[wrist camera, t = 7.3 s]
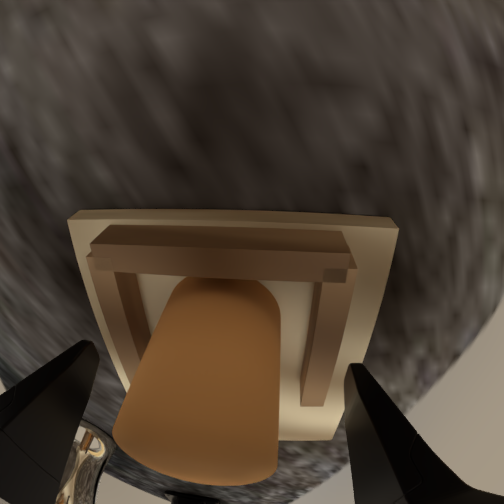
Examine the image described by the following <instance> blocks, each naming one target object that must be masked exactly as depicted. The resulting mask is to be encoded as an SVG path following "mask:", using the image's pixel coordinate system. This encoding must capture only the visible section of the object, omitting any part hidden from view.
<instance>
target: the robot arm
mask: <svg viewBox="0 0 504 504" xmlns="http://www.w3.org/2000/svg"><path fill="white" fill-rule="evenodd" d="M99 361H100V358H99V354H98V352H97V350H96V348H95V345H94V343H93V342H92V341H89V340H81V341H79V342H78V343H76V344H75V345H73V346H72V347H70V348H69V349H67V350H66V351H65V352H63V353H62V354H60V355H59V356H57V357H56V358H54V359H53V360H51V361H50V362H48V363H47V364H45V365H44V366H42V367H41V368H39V369H38V370H36V371H35V372H34V373H32V374H31V375H29V376H28V377H26V378H25V379H23V380H22V381H20V382H19V383H17V384H16V386H13V387H12V388H10V389H9V390H7V391H6V392H4V393H3V394H1V395H0V504H55V503H56V499H57V495H58V491H59V488H60V484H61V481H62V477H63V474H64V470H65V467H66V464H67V461H68V458H69V454H70V451H71V448H72V445H73V442H74V439H75V436H76V433H77V430H78V428H79V425H80V422H81V419H82V416H83V414H84V411H85V408H86V406H87V403H88V400H89V397H90V394H91V391H92V387H93V383H94V380H95V376H96V372H97V369H98V365H99ZM344 408H345V428H346V435H347V442H348V449H349V457H350V465H351V473H352V480H353V490H354V499H355V504H504V496H501V495H496V494H492V493H489V492H485V491H481V490H477V489H475V488H473V487H471V486H469V485H467V484H466V483H465V482H464V481H462V480H461V479H460V478H459V477H458V476H457V475H456V474H455V473H454V472H453V471H452V470H451V469H450V468H449V467H448V466H447V465H446V464H445V463H444V462H443V461H442V460H441V459H440V458H439V457H438V456H437V455H436V454H435V453H434V452H433V451H432V449H431V448H430V447H429V446H428V445H427V444H426V442H425V441H424V440H423V439H422V437H421V436H420V435H419V434H417V431H416V430H415V429H414V427H413V426H412V425H411V424H410V422H409V421H408V420H407V419H406V417H405V416H404V415H403V414H402V412H401V411H400V410H399V408H398V407H397V406H396V405H395V403H394V402H393V401H392V400H391V398H390V397H389V396H388V395H387V394H386V392H385V391H384V390H383V389H382V387H381V386H380V385H379V384H378V382H377V381H376V380H375V379H374V377H373V376H372V375H371V374H370V372H369V371H368V370H367V369H366V367H365V366H364V365H363V364H362V363H350V364H349V365H348V368H347V372H346V375H345V378H344ZM164 495H165V496H166V497H167V498H168V499H169V500H170V501H171V504H220V502H219V501H218V500H215V499H207V498H201V497H194V496H188V495H183V494H178V493H172V492H167V491H165V494H164Z"/></svg>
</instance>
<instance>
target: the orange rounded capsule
mask: <svg viewBox="0 0 504 504" xmlns="http://www.w3.org/2000/svg"><path fill="white" fill-rule="evenodd" d="M280 350H281V314H280V308H279V306H278V303H277V301H276V299H275V298H274V296H273V295H272V293H271V292H270V291H269V290H268V289H267V288H266V287H265V286H264V285H262V284H261V283H260V282H258V281H257V280H243V279H223V278H204V277H186V278H184V279H183V280H182V281H180V282H179V283H178V284H177V285H176V287H175V288H174V290H173V291H172V293H171V295H170V297H169V299H168V302H167V304H166V306H165V308H164V310H163V312H162V314H161V317H160V319H159V321H158V323H157V325H156V328H155V330H154V332H153V334H152V336H151V339H150V341H149V343H148V345H147V348H146V350H145V352H144V354H143V357H142V359H141V361H140V364H139V366H138V368H137V371H136V373H135V375H134V378H133V380H132V382H131V385H130V387H129V389H128V392H127V394H126V397H125V399H124V401H123V404H122V406H121V409H120V411H119V414H118V416H117V419H116V421H115V424H114V426H113V430H112V435H113V438H114V440H115V442H116V443H117V445H118V446H119V447H120V448H121V449H122V450H123V451H124V452H125V453H126V454H128V455H129V456H130V457H132V458H133V459H135V460H136V461H138V462H139V463H141V464H143V465H145V466H147V467H149V468H151V469H153V470H155V471H157V472H160V473H162V474H165V475H168V476H171V477H174V478H177V479H181V480H185V481H189V482H194V483H200V484H207V485H218V486H235V485H245V484H251V483H255V482H259V481H262V480H264V479H266V478H268V477H270V476H271V475H272V474H274V472H275V471H276V469H277V464H278V437H279V403H280Z"/></svg>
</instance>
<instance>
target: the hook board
mask: <svg viewBox="0 0 504 504" xmlns="http://www.w3.org/2000/svg"><path fill="white" fill-rule="evenodd" d="M67 222H68V226H69V230H70V235H71V239H72V243H73V246H74V250H75V254H76V258H77V261H78V265H79V268H80V272H81V275H82V278H83V282H84V285H85V288H86V291H87V294H88V297H89V300H90V303H91V306H92V309H93V312H94V315H95V318H96V320H97V323H98V326H99V328H100V331H101V334H102V336H103V339H104V342H105V344H106V347H107V349H108V351H109V354H110V356H111V359H112V361H113V363H114V366H115V368H116V370H117V373H118V375H119V377H120V379H121V382H122V384H123V386H124V388H125V390H126V392H128V389H129V387H130V385H131V382H132V380H133V378H134V375H135V373H136V371H137V368H138V366H139V364H140V361H141V359H142V357H143V354H144V352H145V350H146V348H147V345H148V343H149V341H150V339H151V336H152V334H153V332H154V330H155V328H156V325H157V323H158V321H159V319H160V317H161V314H162V312H163V310H164V308H165V306H166V304H167V302H168V299H169V297H170V295H171V293H172V291H173V290H174V288H175V287H176V285H177V284H178V283H179V282H180V281H182V280H183V279H184V278H186V277H204V278H223V279H243V280H257V281H258V282H260V283H261V284H262V285H264V286H265V287H266V288H267V289H268V290H269V291H270V292H271V293H272V295H273V296H274V298H275V299H276V301H277V303H278V306H279V308H280V314H281V350H280V403H279V437H278V440H332V438H333V435H334V433H335V431H336V429H337V426H338V424H339V422H340V419H341V417H342V415H343V412H344V410H345V408H344V378H345V375H346V372H347V368H348V365H349V364H350V363H362V362H363V359H364V356H365V354H366V351H367V348H368V345H369V341H370V338H371V335H372V332H373V329H374V326H375V322H376V319H377V316H378V312H379V309H380V305H381V302H382V298H383V295H384V291H385V287H386V283H387V279H388V275H389V271H390V267H391V263H392V259H393V254H394V250H395V246H396V241H397V236H398V231H399V228H398V227H397V226H396V224H395V223H394V222H393V220H392V219H391V218H390V217H378V216H363V215H346V214H329V213H309V212H285V211H257V210H216V209H102V210H79V211H78V212H77V213H75V214H74V215H73V216H71V217H70V218H69V219H67Z"/></svg>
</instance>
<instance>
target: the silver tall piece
mask: <svg viewBox="0 0 504 504" xmlns="http://www.w3.org/2000/svg"><path fill="white" fill-rule="evenodd" d="M116 447H117V446H116V443H115V442H114V440H113V439H112V438H111V437H110V436H109V435H107V434H106V433H105V432H103V431H102V430H101V429H99V428H97V427H96V426H94V425H92V424H91V423H89V422H87V421H85V420H82V419H81V422H80V425H79V428H78V430H77V433H76V436H75V439H74V442H73V445H72V448H71V451H70V454H69V458H68V461H67V464H66V467H65V470H64V474H63V477H62V481H61V484H60V488H59V491H58V495H57V499H56V503H55V504H96V503H97V495H98V488H99V483H100V479H101V476H102V474H103V471H104V469H105V467H106V465H107V464H108V462H109V460H110V459H111V457H112V456H113V454H114V452H115V451H116Z"/></svg>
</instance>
